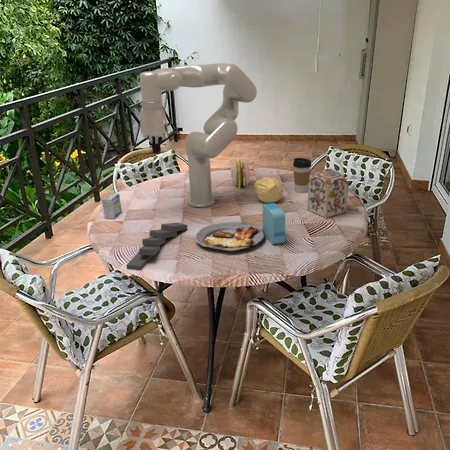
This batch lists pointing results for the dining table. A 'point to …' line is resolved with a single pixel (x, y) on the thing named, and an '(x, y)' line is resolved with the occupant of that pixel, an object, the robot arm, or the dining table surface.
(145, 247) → the domino
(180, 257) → the dining table surface
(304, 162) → the coffee cup
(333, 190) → the decorative jar
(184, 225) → the domino
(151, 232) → the domino
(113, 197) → the medicine box
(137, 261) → the domino
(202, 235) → the food plate
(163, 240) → the domino
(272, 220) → the light blue block
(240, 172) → the hamburger
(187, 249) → the dining table surface
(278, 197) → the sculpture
